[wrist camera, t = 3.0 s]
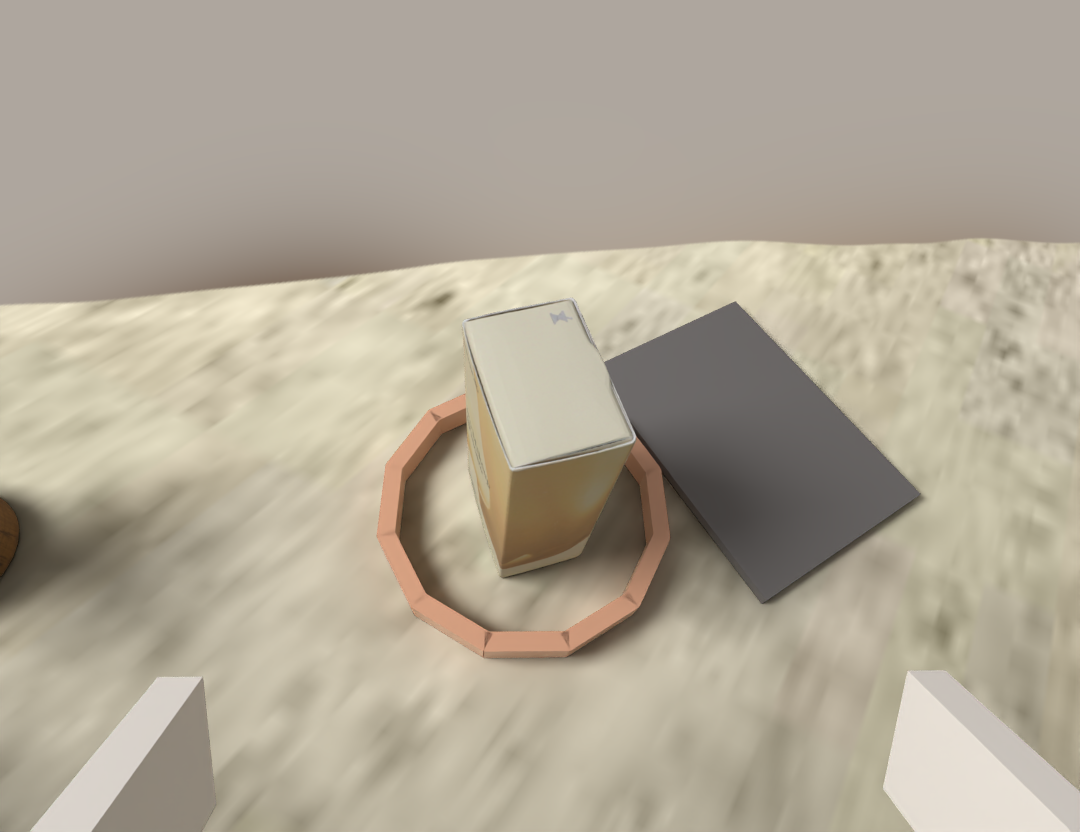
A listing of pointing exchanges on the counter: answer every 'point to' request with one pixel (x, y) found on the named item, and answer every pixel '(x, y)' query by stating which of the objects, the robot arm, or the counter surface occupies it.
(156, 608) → the counter surface
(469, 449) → the skincare box
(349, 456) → the counter surface
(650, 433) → the rubber mat
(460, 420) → the pink polygonal ring
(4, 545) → the mortar and pestle
